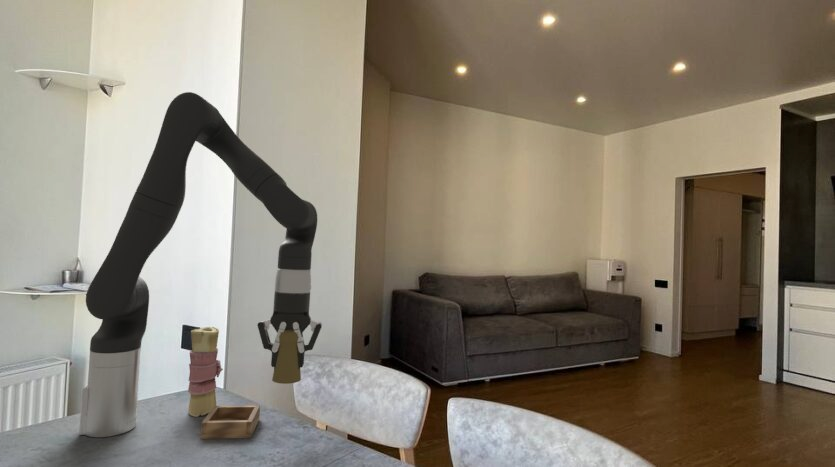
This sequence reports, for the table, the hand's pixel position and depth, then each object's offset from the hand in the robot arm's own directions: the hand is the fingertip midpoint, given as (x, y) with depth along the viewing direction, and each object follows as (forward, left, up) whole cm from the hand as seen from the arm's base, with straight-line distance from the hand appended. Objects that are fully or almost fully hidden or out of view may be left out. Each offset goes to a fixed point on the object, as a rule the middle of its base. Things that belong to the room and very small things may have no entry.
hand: (287, 368), depth 97 cm
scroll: (-21, +16, -15) cm, 30 cm away
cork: (0, 0, -3) cm, 3 cm away
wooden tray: (-12, +5, -15) cm, 19 cm away
